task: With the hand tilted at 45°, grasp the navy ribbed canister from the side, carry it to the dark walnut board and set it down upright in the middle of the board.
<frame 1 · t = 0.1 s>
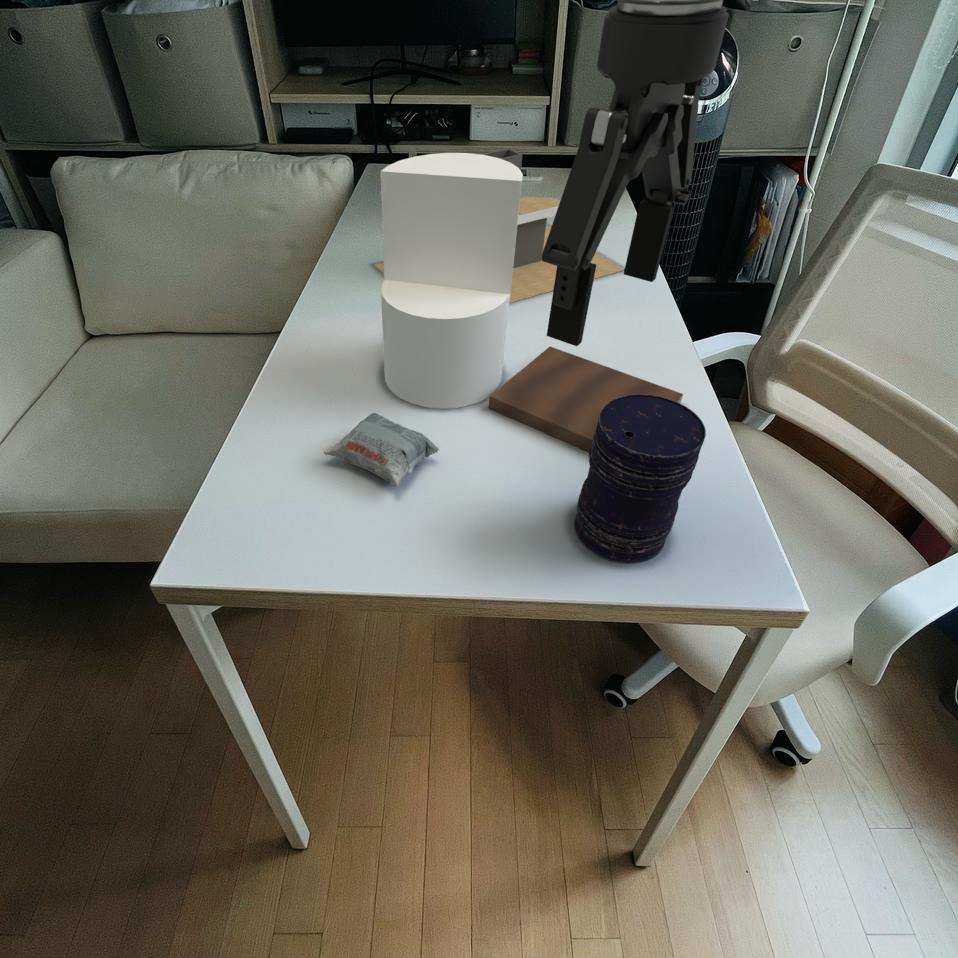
hand: (603, 306, 57), 27 cm above the table, tool pointing down, fingers open, 13 cm apart
architectural model: (496, 268, 122), on the table
cylinder: (442, 374, 98), on the table
packaged food: (381, 465, 83), on the table
navy ribbed canister: (618, 531, 73), on the table
board: (582, 407, 90), on the table
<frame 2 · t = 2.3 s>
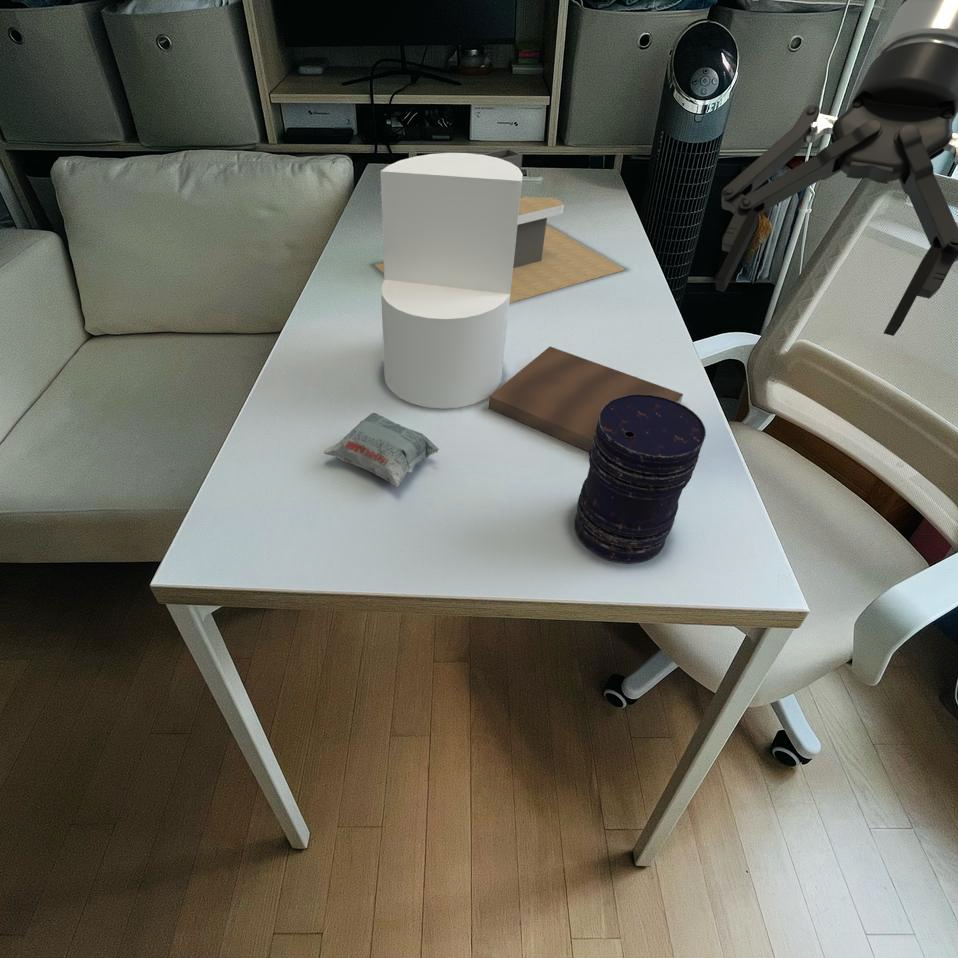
hand: (800, 306, 57), 26 cm above the table, tool tilted 45°, fingers open, 13 cm apart
nothing on the table moved.
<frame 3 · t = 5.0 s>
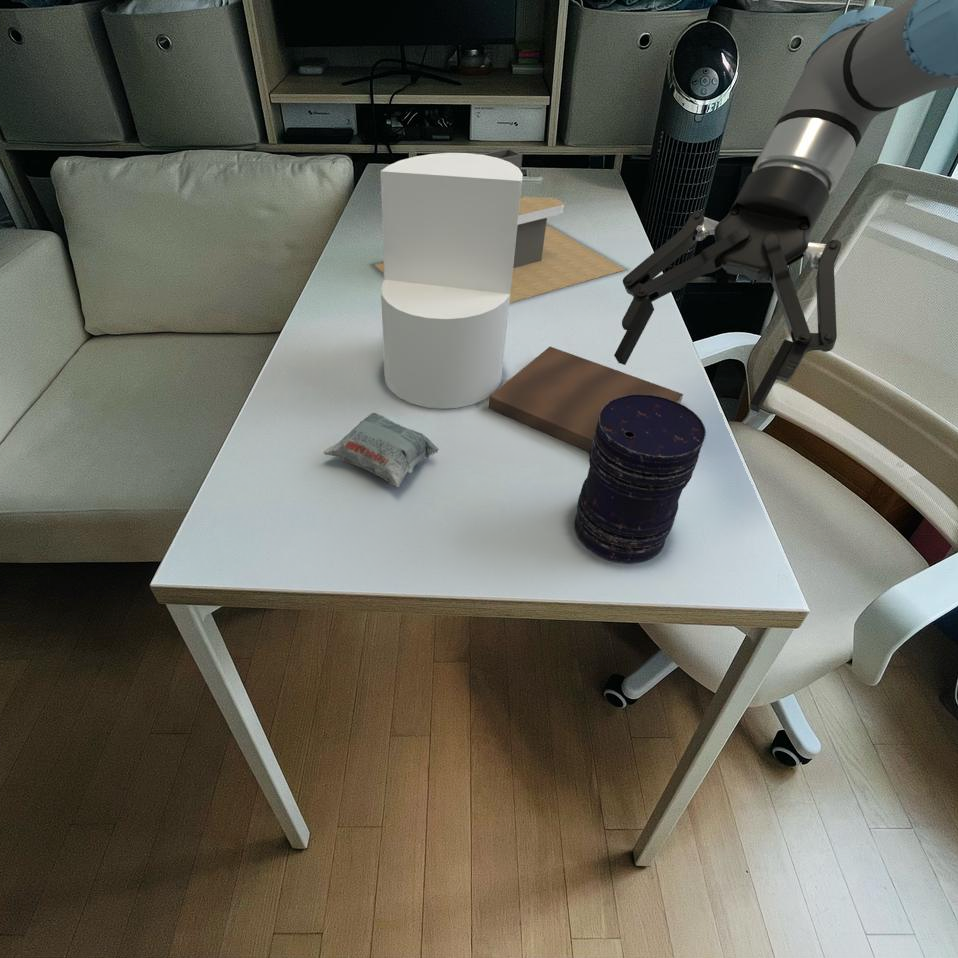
hand: (683, 383, 66), 16 cm above the table, tool tilted 45°, fingers open, 13 cm apart
nothing on the table moved.
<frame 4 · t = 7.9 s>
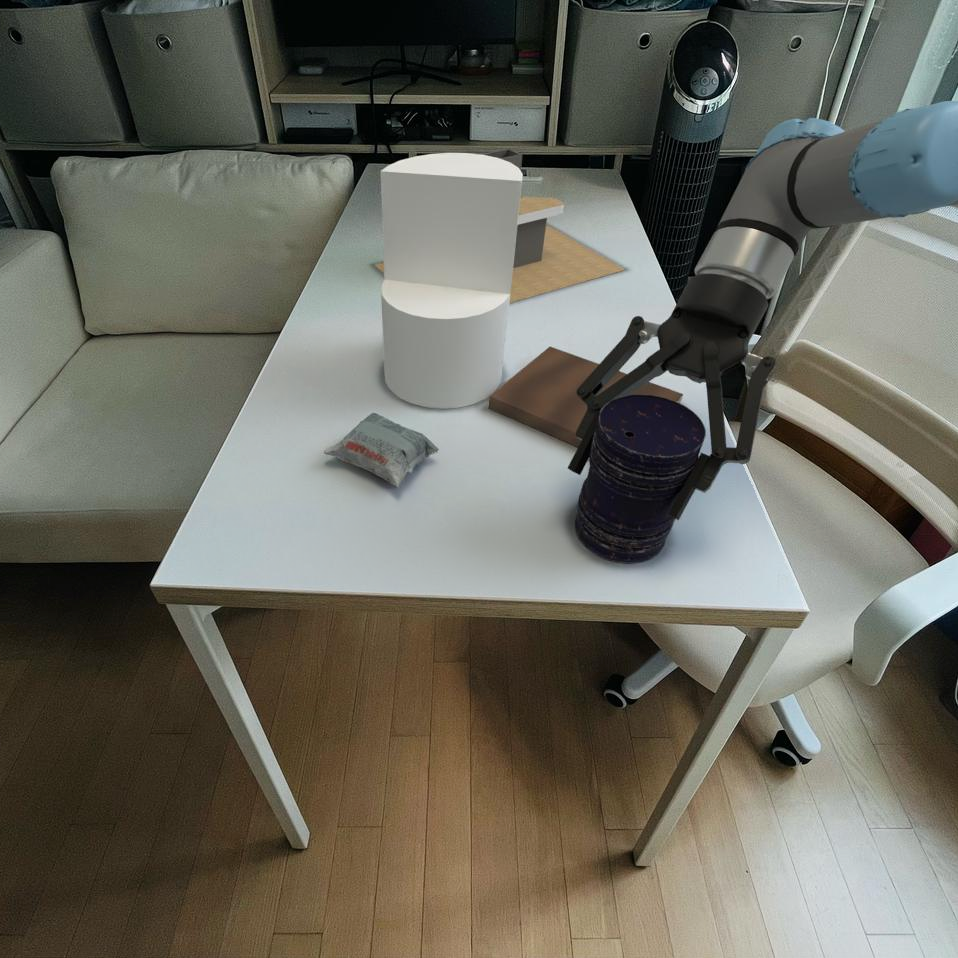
hand: (621, 493, 66), 8 cm above the table, tool tilted 45°, fingers closed on navy ribbed canister, 10 cm apart
navy ribbed canister: (618, 531, 73), on the table, touching gripper
everything else where it was.
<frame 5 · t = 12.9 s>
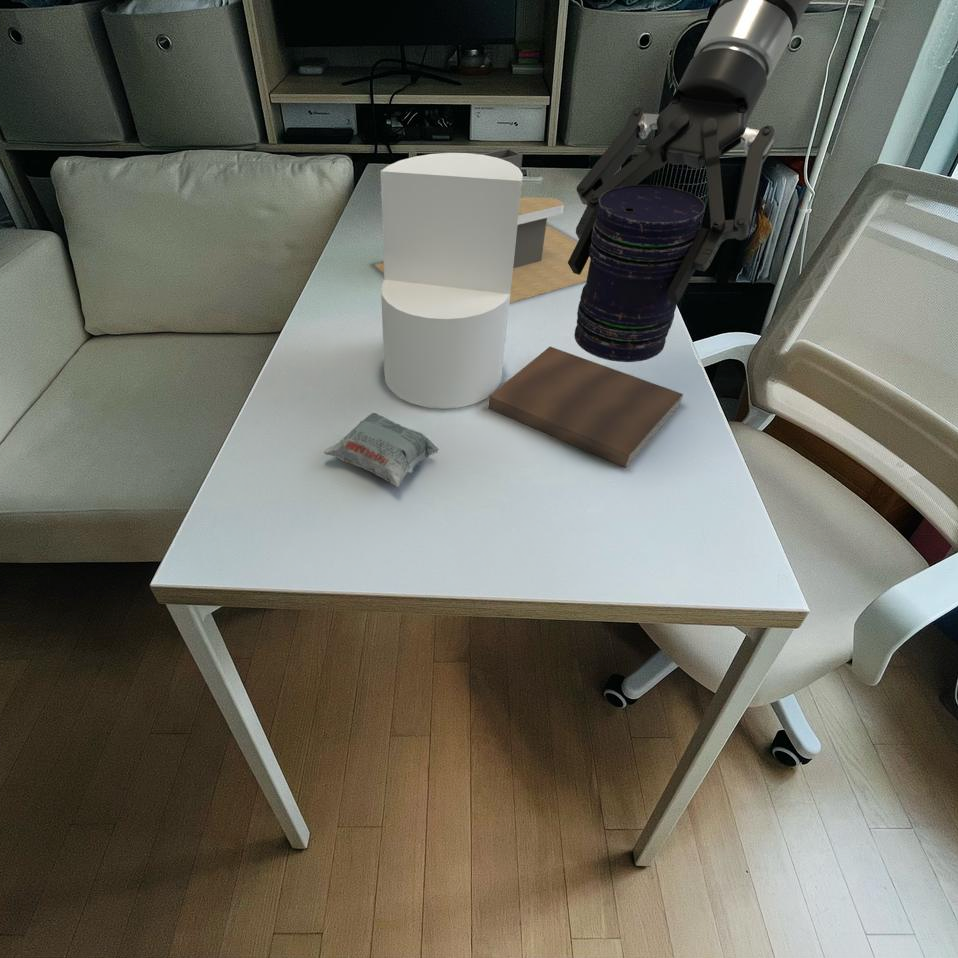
hand: (621, 282, 67), 23 cm above the table, tool tilted 45°, fingers closed on navy ribbed canister, 10 cm apart
navy ribbed canister: (618, 339, 74), point 15 cm above the table, touching gripper
everything else where it was.
when the fingers open (10 cm above the table, at t = 17.9 s): navy ribbed canister stays where it is, resting on board.
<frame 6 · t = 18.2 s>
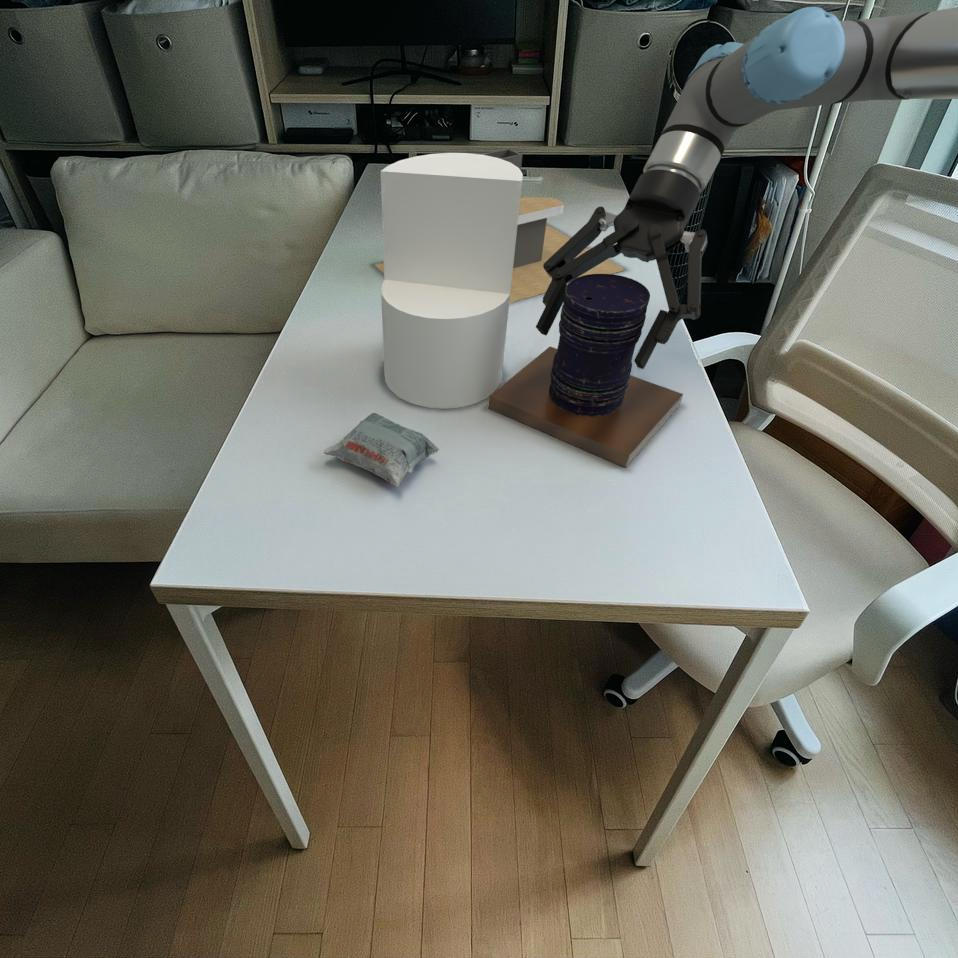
hand: (587, 347, 81), 11 cm above the table, tool tilted 45°, fingers open, 12 cm apart
navy ribbed canister: (585, 396, 89), point 2 cm above the table, touching board
everything else where it was.
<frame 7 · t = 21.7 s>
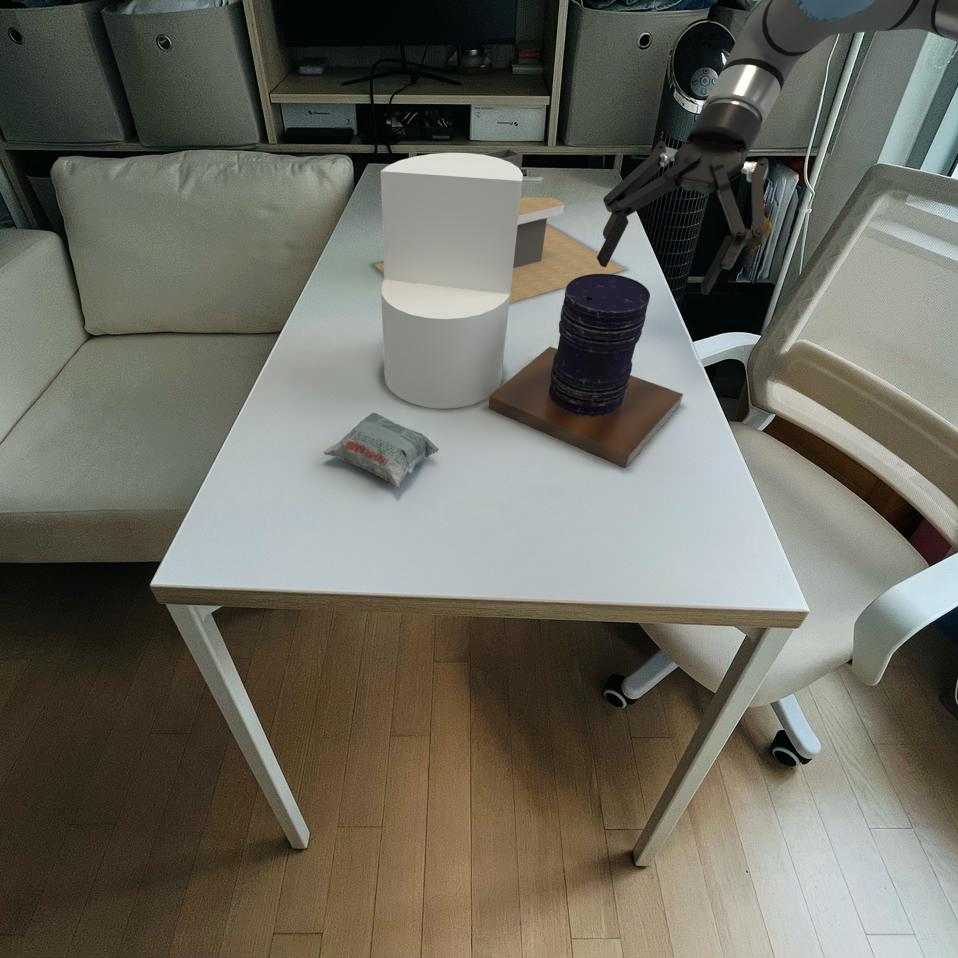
hand: (650, 276, 85), 15 cm above the table, tool tilted 45°, fingers open, 13 cm apart
nothing on the table moved.
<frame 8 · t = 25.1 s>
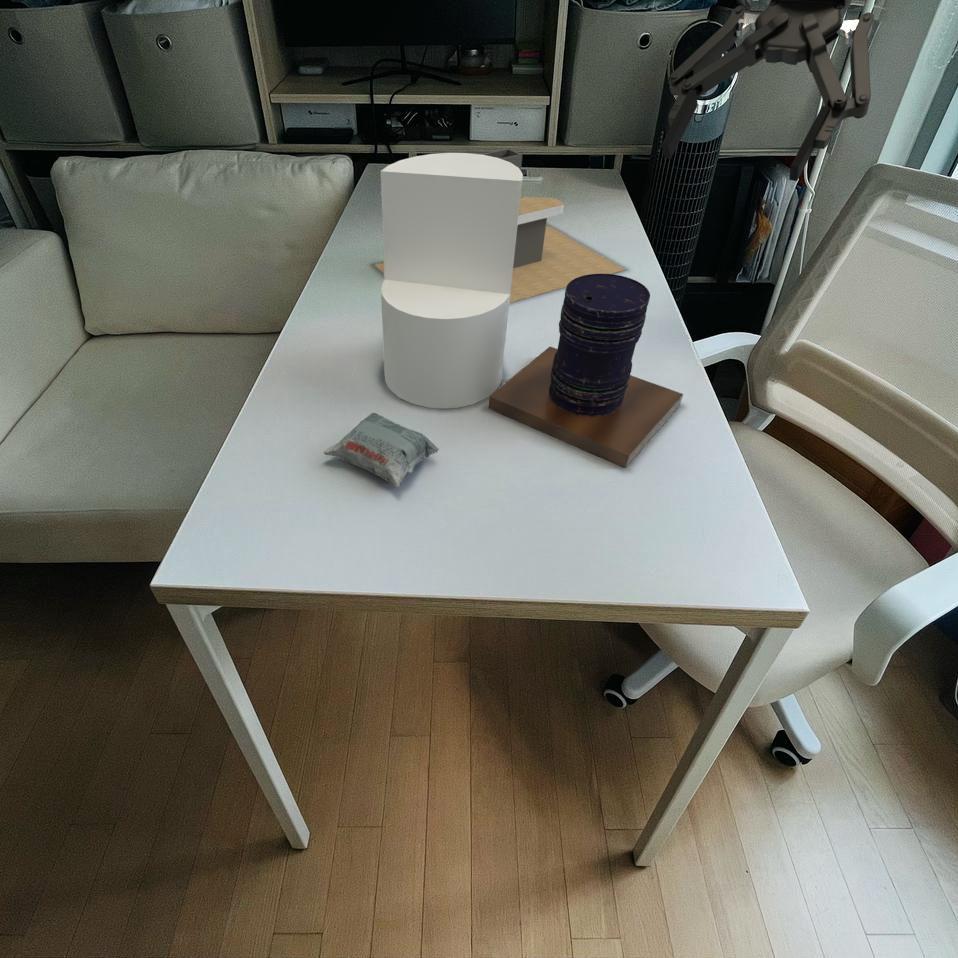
hand: (726, 162, 72), 30 cm above the table, tool tilted 45°, fingers open, 13 cm apart
nothing on the table moved.
at the end: navy ribbed canister inside the target area on the board (0.1 cm from its centre), point 1.8 cm above the board's base; navy ribbed canister tilted 0°; the gripper is holding nothing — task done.
